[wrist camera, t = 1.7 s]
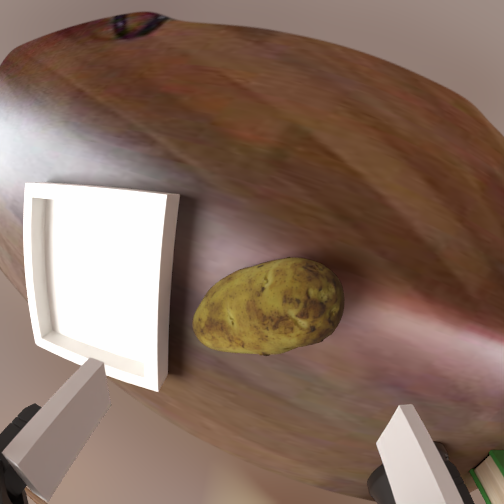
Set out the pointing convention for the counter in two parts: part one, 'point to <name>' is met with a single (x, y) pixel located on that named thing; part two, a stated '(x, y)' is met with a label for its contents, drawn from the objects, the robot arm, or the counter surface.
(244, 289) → the potato
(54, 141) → the counter surface
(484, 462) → the hardback book
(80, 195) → the tray
